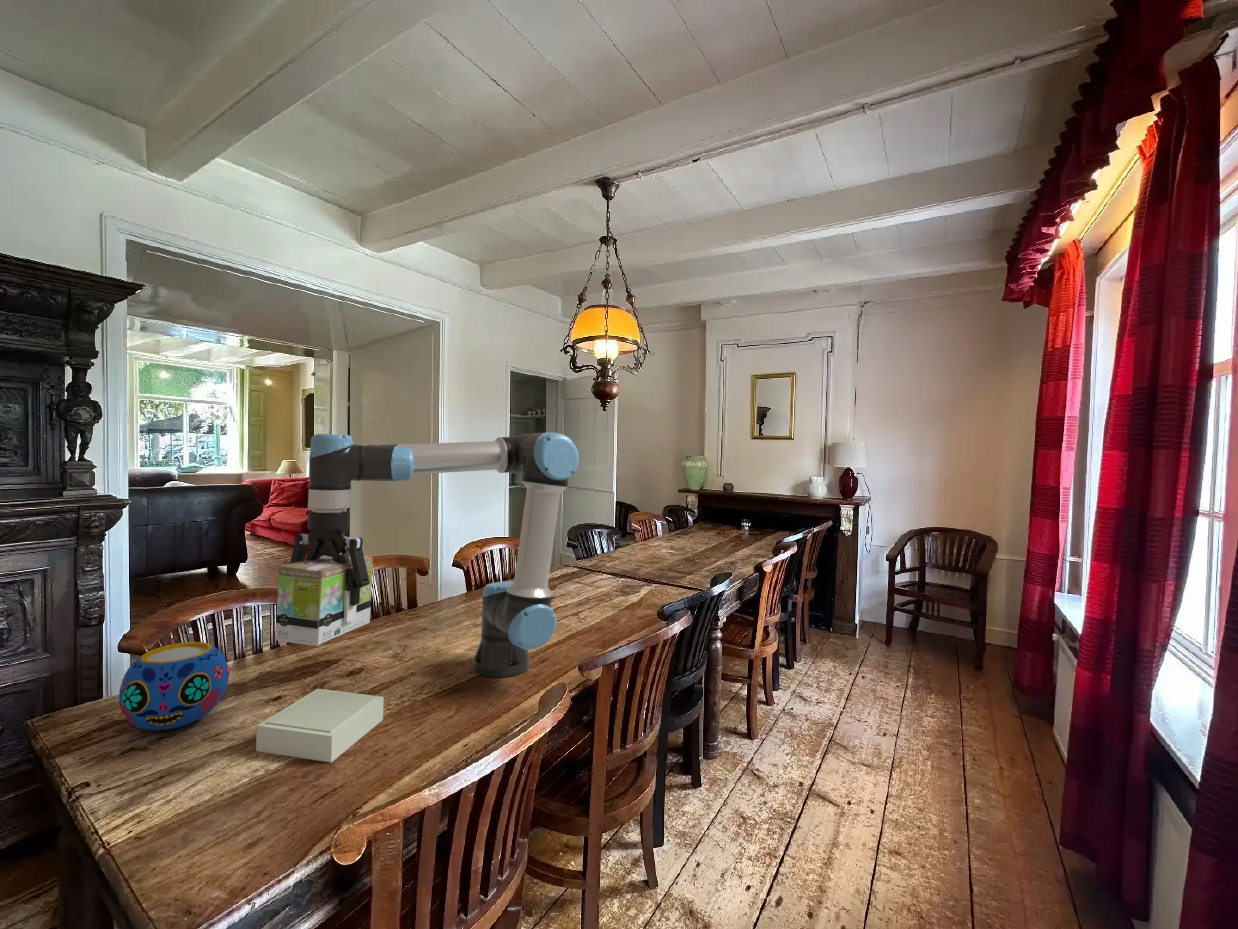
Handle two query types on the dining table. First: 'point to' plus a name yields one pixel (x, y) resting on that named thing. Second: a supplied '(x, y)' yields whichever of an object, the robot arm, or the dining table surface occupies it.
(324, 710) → the block
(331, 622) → the tea box
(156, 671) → the ceramic pot
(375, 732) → the dining table surface
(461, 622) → the dining table surface
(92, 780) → the dining table surface
